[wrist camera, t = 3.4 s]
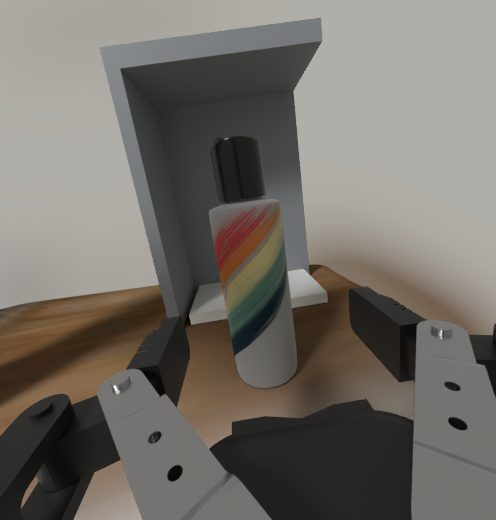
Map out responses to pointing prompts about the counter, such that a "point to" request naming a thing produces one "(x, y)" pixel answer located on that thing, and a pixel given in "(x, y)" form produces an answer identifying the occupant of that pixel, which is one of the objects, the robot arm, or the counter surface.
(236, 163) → the lotion bottle
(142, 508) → the robot arm
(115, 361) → the counter surface
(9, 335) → the counter surface
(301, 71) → the open shelf
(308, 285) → the shelf mat
